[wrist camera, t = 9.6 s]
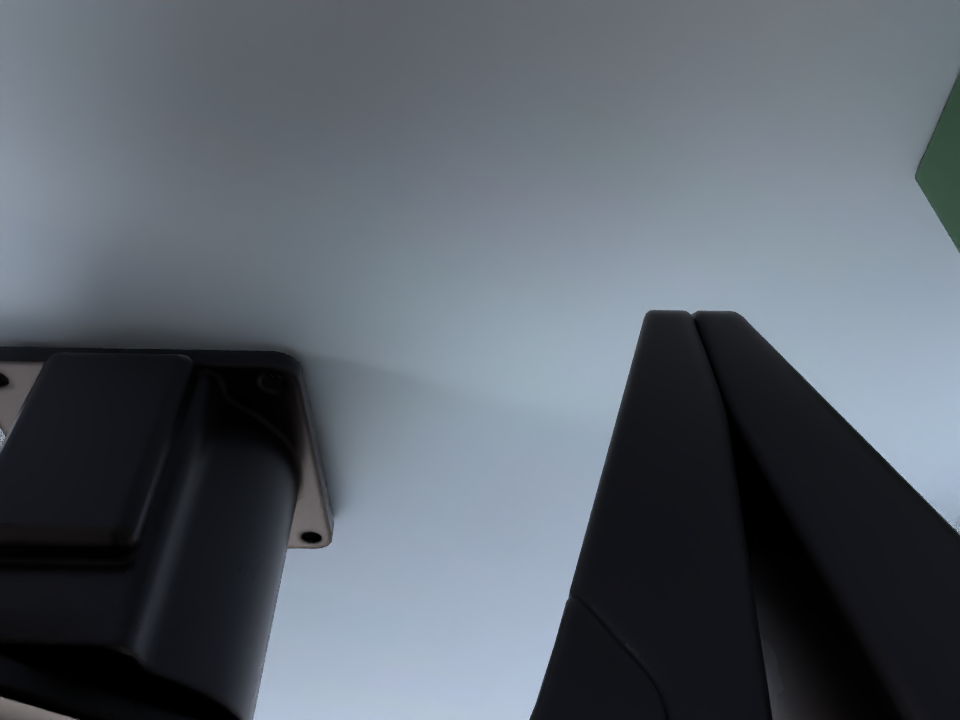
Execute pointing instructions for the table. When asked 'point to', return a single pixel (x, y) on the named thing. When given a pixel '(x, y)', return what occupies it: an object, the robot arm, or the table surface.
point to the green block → (944, 168)
